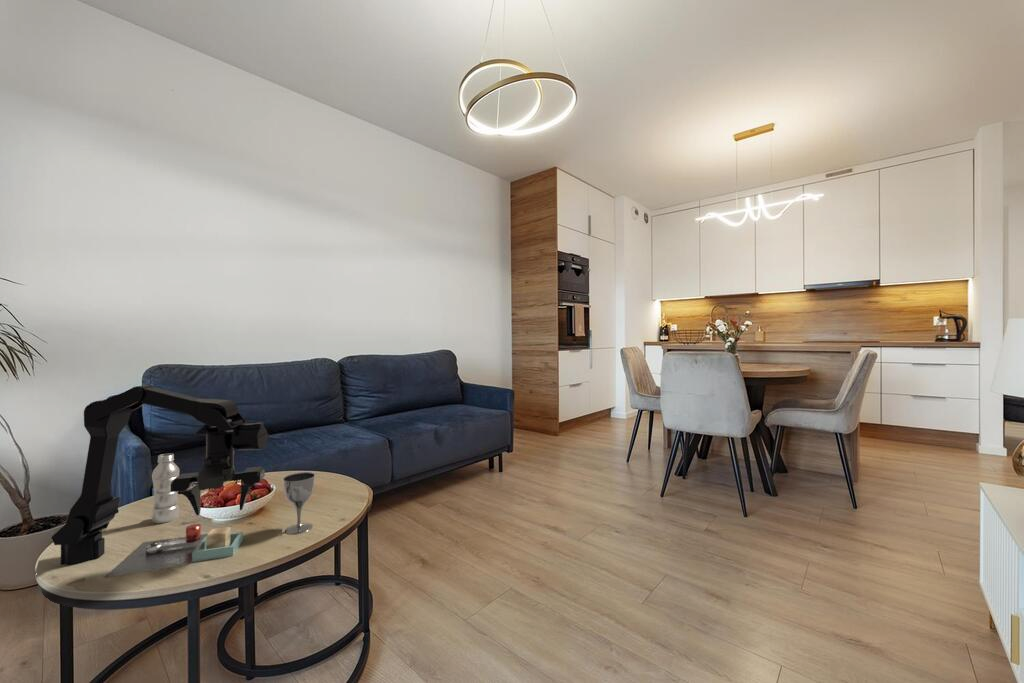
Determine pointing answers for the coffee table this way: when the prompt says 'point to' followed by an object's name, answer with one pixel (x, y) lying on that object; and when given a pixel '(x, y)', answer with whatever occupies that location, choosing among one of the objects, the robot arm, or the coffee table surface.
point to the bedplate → (155, 558)
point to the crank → (191, 537)
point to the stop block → (218, 538)
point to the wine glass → (298, 497)
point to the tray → (217, 549)
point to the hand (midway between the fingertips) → (220, 512)
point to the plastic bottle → (165, 490)
